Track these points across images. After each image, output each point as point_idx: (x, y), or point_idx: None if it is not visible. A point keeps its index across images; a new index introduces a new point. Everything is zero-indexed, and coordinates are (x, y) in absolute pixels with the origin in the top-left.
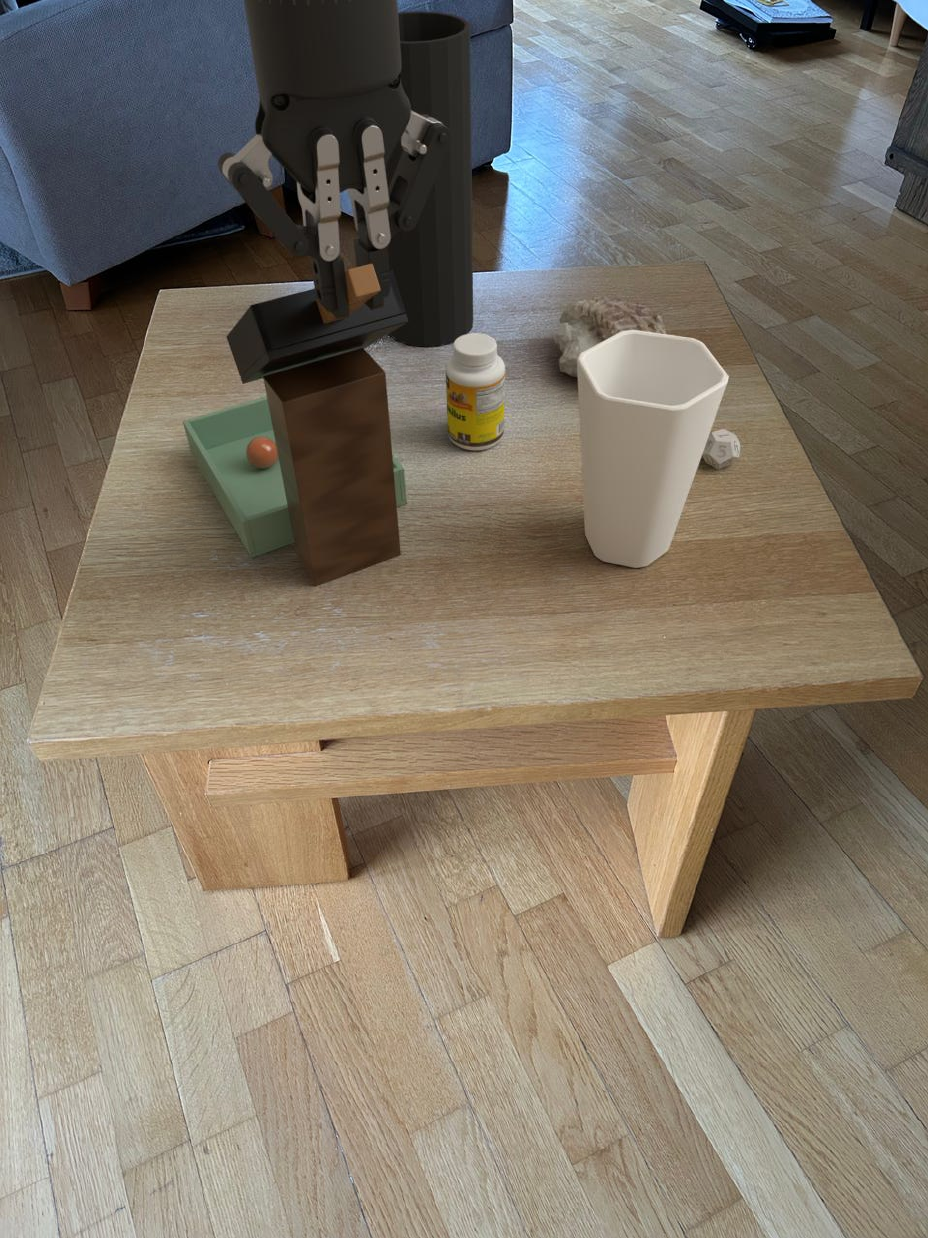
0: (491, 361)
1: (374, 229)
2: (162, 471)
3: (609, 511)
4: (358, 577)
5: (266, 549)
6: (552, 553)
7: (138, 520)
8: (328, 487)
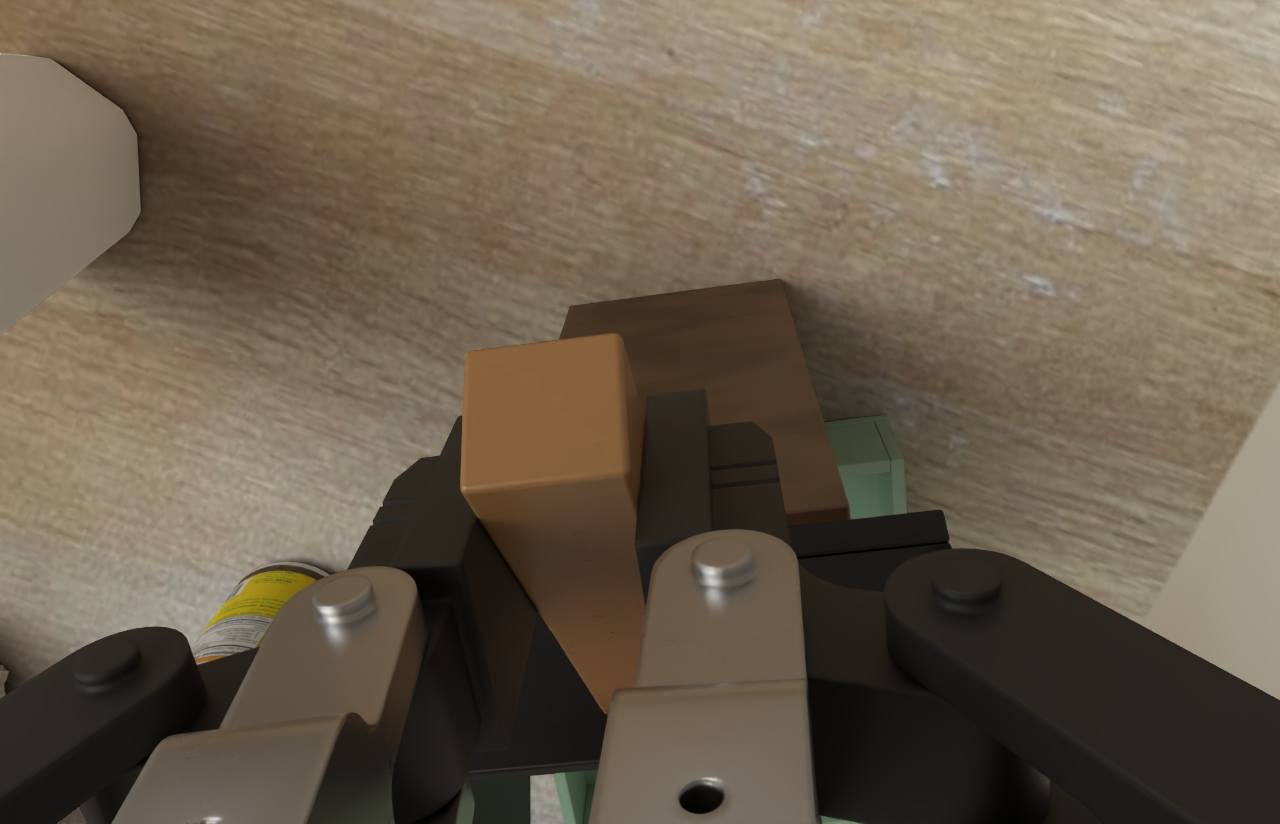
0: None
1: (370, 642)
2: None
3: (33, 117)
4: (681, 271)
5: (848, 421)
6: (233, 183)
7: None
8: (725, 377)
